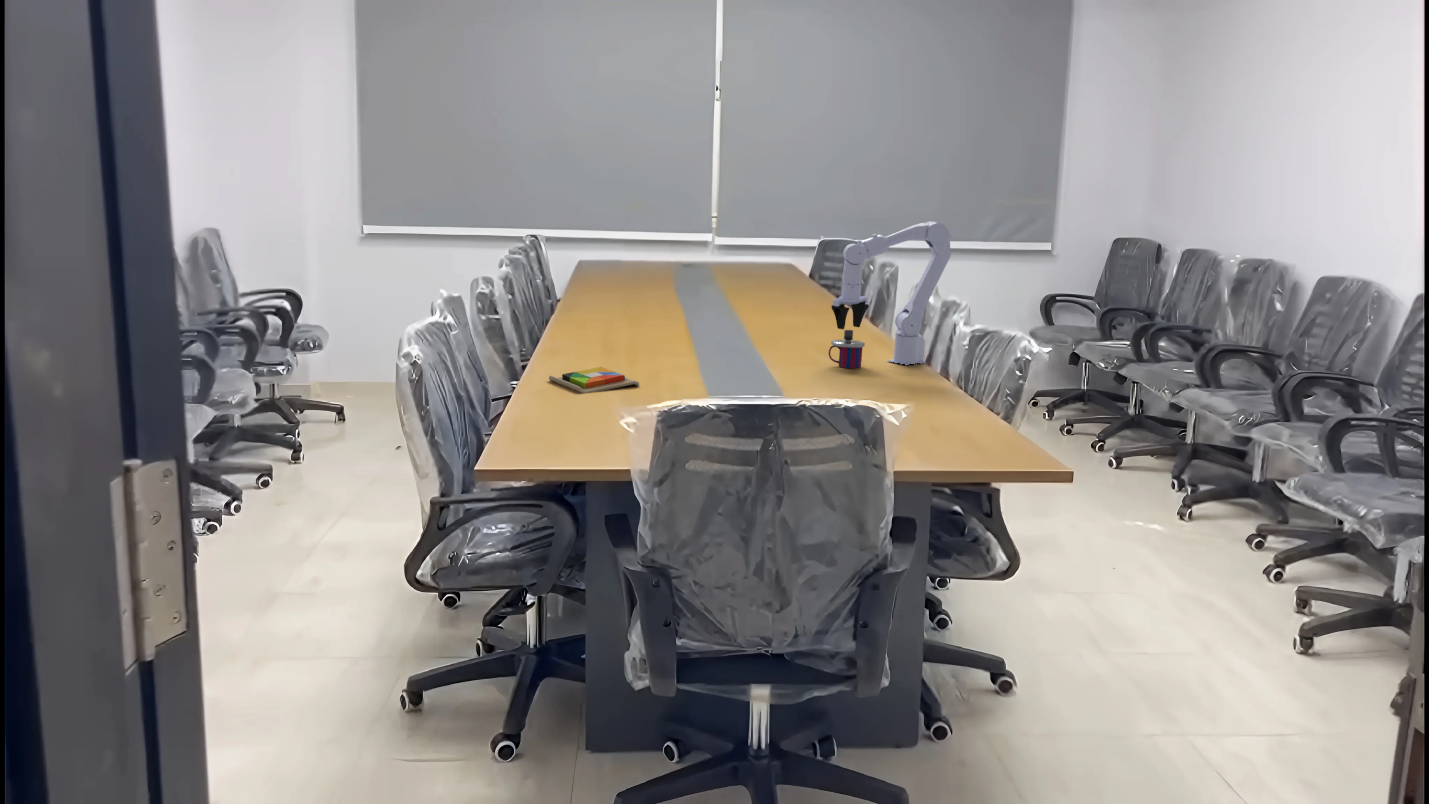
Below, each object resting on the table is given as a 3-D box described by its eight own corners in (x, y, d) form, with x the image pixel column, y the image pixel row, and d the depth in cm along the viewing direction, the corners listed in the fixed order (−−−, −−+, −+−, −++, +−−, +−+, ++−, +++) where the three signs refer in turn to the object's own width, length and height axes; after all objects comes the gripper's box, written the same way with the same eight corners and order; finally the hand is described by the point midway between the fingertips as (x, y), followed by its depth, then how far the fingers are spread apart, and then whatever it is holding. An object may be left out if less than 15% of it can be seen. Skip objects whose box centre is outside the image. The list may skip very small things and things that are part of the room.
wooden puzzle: (546, 382, 291) (546, 369, 291) (607, 375, 303) (607, 363, 302) (579, 395, 278) (579, 382, 277) (641, 388, 289) (641, 375, 288)
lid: (845, 340, 332) (846, 326, 332) (871, 345, 326) (872, 331, 325) (824, 343, 326) (825, 329, 325) (850, 349, 319) (851, 334, 318)
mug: (861, 369, 324) (863, 347, 323) (827, 367, 325) (829, 345, 323) (860, 365, 331) (862, 343, 329) (827, 363, 331) (829, 341, 330)
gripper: (856, 280, 338) (853, 324, 341) (826, 283, 328) (823, 327, 332) (874, 283, 333) (871, 327, 336) (844, 286, 323) (841, 331, 327)
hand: (848, 327), depth 334 cm, fingers open, 7 cm apart
